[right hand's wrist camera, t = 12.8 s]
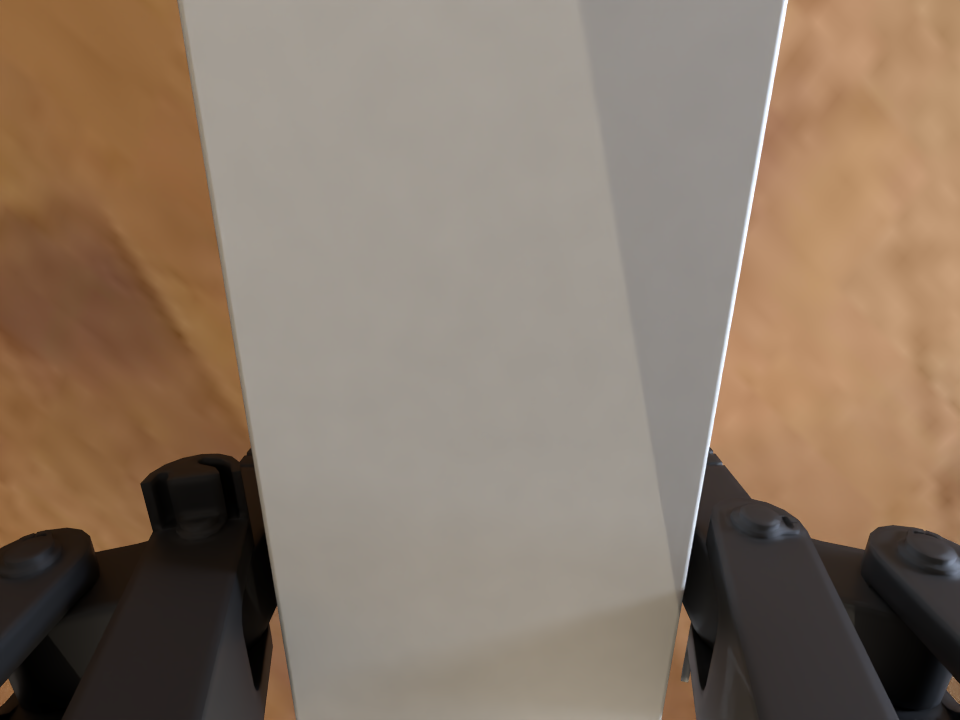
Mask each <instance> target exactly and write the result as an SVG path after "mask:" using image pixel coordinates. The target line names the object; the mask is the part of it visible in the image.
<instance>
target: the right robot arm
mask: <svg viewBox="0 0 960 720" xmlns="http://www.w3.org/2000/svg"><path fill="white" fill-rule="evenodd" d="M141 488H142V492H143V495H144V499H145V503H146V507H147V511H148V514H149V518H150V522H151V526H152V530H153V533H152V535H151V537H150V539H149V541H146V542H143V543H139V544H134V545H129V546H124V547H119V548H114V549H109V550H104V551H100V552H95V551H94V548H93V544H92V541H91V538H90V536H89V535H88V534H87V533H85V532H84V531H83V530H80V529H72V528H61V529H53V530H45V531H40V532H37V533H36V534H34V533H33V534H30V535H27V536H24V537H22V538H20V539H19V540H17V541H14V542H12V543H10V544H8V545H6V546H4V547H2V548H0V687H1V686H2V685H3V684H4V682H5V681H6V680H7V679H9V681H10V683H11V686H12V688H13V690H14V693H13V694H12V695H11V696H10V698H9V699H8V700H7V701H6V702H5V703H4V704H3V705H2V706H1V707H0V720H264V713H265V705H266V697H267V689H268V681H269V673H270V665H271V657H272V649H273V644H272V637H271V631H270V625H269V622H270V620H271V617H272V615H273V613H274V611H275V609H276V606H277V600H276V594H275V588H274V582H273V576H272V570H271V564H270V558H269V552H268V546H267V540H266V534H265V528H264V522H263V516H262V510H261V504H260V498H259V491H258V485H257V479H256V473H255V467H254V461H253V455H252V449H251V448H250V450H249V451H248V452H247V456H244V457H243V458H242V460H241V461H240V462H238V461H237V460H236V459H234V458H233V457H232V456H227V455H222V454H200V455H195V456H190V457H186V458H182V459H179V460H176V461H174V462H171V463H168V464H166V465H164V466H162V467H160V468H159V469H157V470H155V471H154V472H152V473H150V474H149V475H148V476H147V477H146V478H145V479H144V480H143V481H142V482H141ZM682 603H683V605H684V607H685V609H686V611H687V613H688V616H689V618H690V620H691V625H690V631H689V636H688V642H687V647H686V653H685V658H684V663H683V669H682V676H681V681H684V682H688V680H689V675H690V672H691V680H692V688H693V696H694V704H695V712H696V720H960V704H958V703H957V702H956V701H955V700H954V698H953V697H952V696H951V695H950V694H949V693H948V692H947V690H946V689H947V686H948V684H949V682H950V679H951V677H952V676H953V677H954V678H955V679H956V680H957V681H958V682H959V683H960V546H959V545H958V544H956V543H954V542H952V541H949V540H947V539H945V538H943V537H941V536H940V535H938V534H935V533H932V532H929V531H923V529H918V528H914V527H904V526H895V525H891V526H884V527H878V528H877V529H875V530H874V531H873V532H872V533H870V536H869V539H868V542H867V545H866V549H865V550H863V549H858V548H853V547H848V546H843V545H838V544H833V543H828V542H823V541H819V540H815V539H811V538H810V536H809V534H808V532H807V530H806V529H805V528H804V526H803V525H802V524H801V523H800V521H799V520H798V519H796V518H795V517H793V516H792V515H791V514H789V513H788V512H786V511H785V510H783V509H781V508H778V507H776V506H774V505H771V504H769V503H767V502H762V501H758V500H754V499H751V498H750V496H749V495H748V494H747V493H746V491H745V490H744V489H743V488H742V486H741V485H740V484H739V483H738V481H737V480H736V479H735V478H734V476H733V475H732V474H731V473H730V471H729V470H728V469H727V468H726V467H725V465H722V462H721V460H720V459H719V458H718V457H717V455H716V454H713V450H712V449H711V448H710V447H709V452H708V457H707V463H706V469H705V474H704V480H703V486H702V491H701V497H700V503H699V508H698V514H697V520H696V526H695V531H694V537H693V543H692V548H691V554H690V560H689V565H688V571H687V577H686V582H685V588H684V594H683V599H682Z"/></svg>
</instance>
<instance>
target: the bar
mask: <svg viewBox="0 0 960 720" xmlns="http://www.w3.org/2000/svg"><path fill="white" fill-rule="evenodd" d="M177 1H178V7H179V13H180V19H181V25H182V31H183V37H184V43H185V49H186V56H187V62H188V68H189V74H190V80H191V86H192V92H193V98H194V104H195V110H196V116H197V122H198V128H199V134H200V140H201V146H202V152H203V158H204V165H205V171H206V177H207V183H208V189H209V195H210V201H211V207H212V213H213V219H214V225H215V231H216V237H217V243H218V249H219V255H220V261H221V267H222V273H223V280H224V286H225V292H226V298H227V304H228V310H229V316H230V322H231V328H232V334H233V340H234V346H235V352H236V358H237V364H238V370H239V376H240V382H241V389H242V395H243V401H244V407H245V413H246V419H247V425H248V431H249V437H250V443H251V449H252V455H253V461H254V467H255V473H256V479H257V485H258V491H259V498H260V504H261V510H262V516H263V522H264V528H265V534H266V540H267V546H268V552H269V558H270V564H271V570H272V576H273V582H274V588H275V594H276V600H277V606H278V613H279V619H280V625H281V631H282V637H283V643H284V649H285V655H286V661H287V667H288V673H289V679H290V685H291V691H292V697H293V703H294V709H295V715H296V720H661V719H662V713H663V708H664V702H665V696H666V691H667V685H668V679H669V673H670V668H671V662H672V656H673V651H674V645H675V639H676V634H677V628H678V622H679V617H680V611H681V605H682V599H683V594H684V588H685V582H686V577H687V571H688V565H689V560H690V554H691V548H692V543H693V537H694V531H695V526H696V520H697V514H698V508H699V503H700V497H701V491H702V486H703V480H704V474H705V469H706V463H707V457H708V452H709V446H710V440H711V434H712V429H713V423H714V417H715V412H716V406H717V400H718V395H719V389H720V383H721V378H722V372H723V366H724V361H725V355H726V349H727V343H728V338H729V332H730V326H731V321H732V315H733V309H734V304H735V298H736V292H737V287H738V281H739V275H740V269H741V264H742V258H743V252H744V247H745V241H746V235H747V230H748V224H749V218H750V213H751V207H752V201H753V196H754V190H755V184H756V178H757V173H758V167H759V161H760V156H761V150H762V144H763V139H764V133H765V127H766V122H767V116H768V110H769V104H770V99H771V93H772V87H773V82H774V76H775V70H776V65H777V59H778V53H779V48H780V42H781V36H782V31H783V25H784V19H785V13H786V8H787V2H788V0H177Z"/></svg>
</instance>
